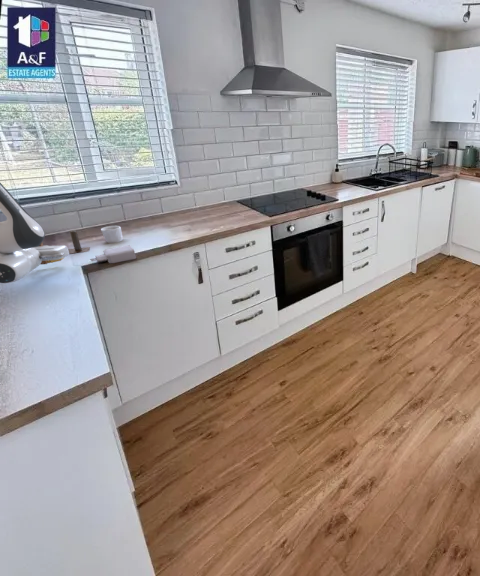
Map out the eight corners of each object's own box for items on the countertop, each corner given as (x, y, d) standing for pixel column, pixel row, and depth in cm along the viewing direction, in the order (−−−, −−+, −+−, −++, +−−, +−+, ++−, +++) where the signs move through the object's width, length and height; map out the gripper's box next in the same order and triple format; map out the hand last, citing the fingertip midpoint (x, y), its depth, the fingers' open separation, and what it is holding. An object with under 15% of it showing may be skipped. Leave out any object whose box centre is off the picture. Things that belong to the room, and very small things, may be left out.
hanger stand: (66, 256, 159) (60, 233, 156) (68, 251, 166) (62, 229, 162) (89, 253, 164) (83, 231, 160) (90, 249, 170) (84, 228, 166)
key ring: (57, 263, 141) (48, 235, 136) (29, 265, 137) (19, 236, 133) (66, 256, 149) (58, 229, 145) (40, 257, 146) (31, 230, 142)
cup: (100, 243, 180) (95, 227, 176) (118, 239, 186) (113, 223, 182) (110, 247, 174) (104, 231, 171) (128, 243, 180) (123, 227, 177)
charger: (90, 262, 154) (131, 254, 163) (94, 269, 148) (137, 260, 157) (86, 252, 152) (128, 244, 161) (90, 257, 146) (134, 249, 155)
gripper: (58, 247, 129) (72, 238, 141) (-19, 251, 122) (3, 241, 134) (63, 264, 131) (76, 253, 143) (-12, 269, 124) (8, 257, 136)
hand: (40, 247), depth 138 cm, fingers closed on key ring
